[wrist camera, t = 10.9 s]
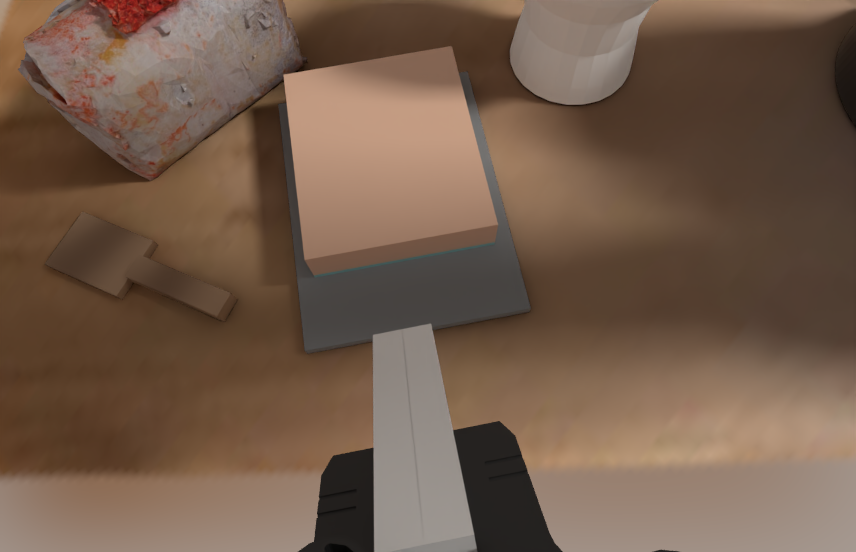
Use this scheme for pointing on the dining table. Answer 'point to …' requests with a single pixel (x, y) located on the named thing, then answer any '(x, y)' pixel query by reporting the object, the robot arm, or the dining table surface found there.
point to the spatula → (130, 266)
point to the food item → (158, 70)
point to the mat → (408, 275)
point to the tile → (386, 162)
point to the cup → (576, 47)
